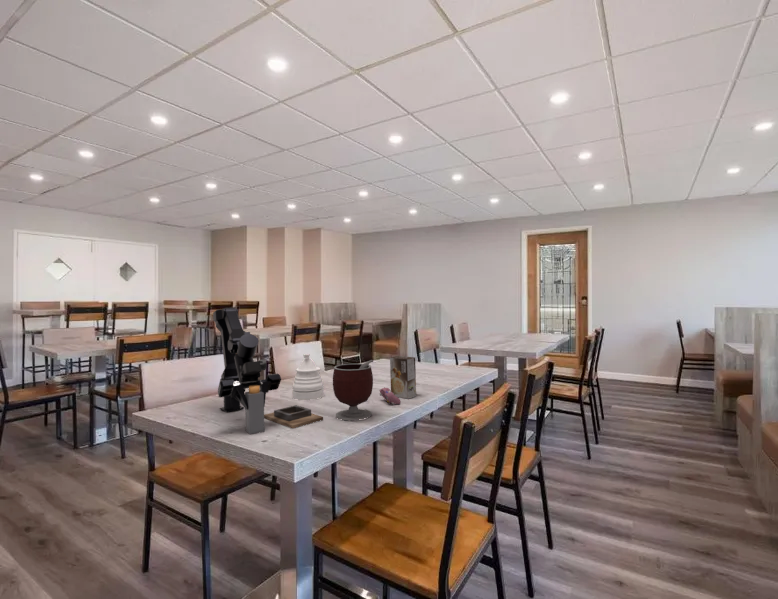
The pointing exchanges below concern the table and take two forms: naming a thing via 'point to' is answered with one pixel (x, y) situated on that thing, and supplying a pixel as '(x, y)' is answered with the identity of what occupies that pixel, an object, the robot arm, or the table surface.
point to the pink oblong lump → (389, 396)
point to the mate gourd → (353, 388)
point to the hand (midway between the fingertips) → (255, 407)
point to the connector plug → (254, 410)
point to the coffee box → (403, 376)
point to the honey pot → (307, 381)
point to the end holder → (293, 416)
